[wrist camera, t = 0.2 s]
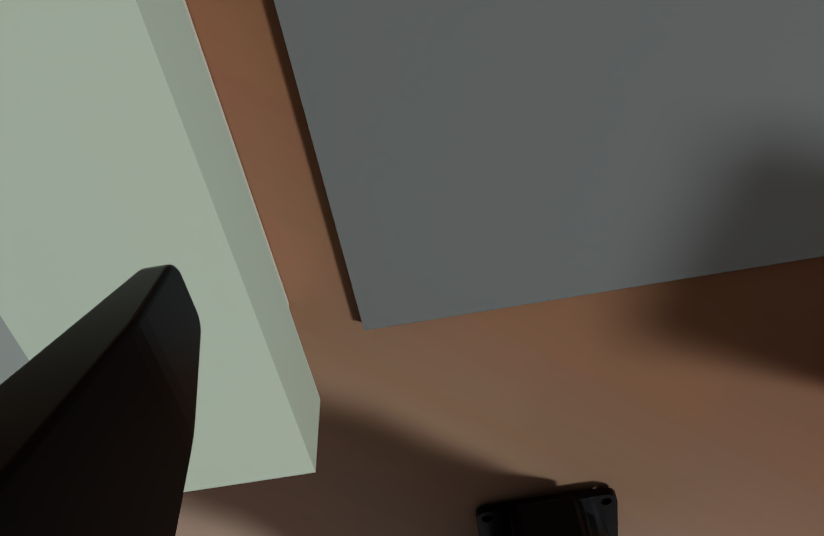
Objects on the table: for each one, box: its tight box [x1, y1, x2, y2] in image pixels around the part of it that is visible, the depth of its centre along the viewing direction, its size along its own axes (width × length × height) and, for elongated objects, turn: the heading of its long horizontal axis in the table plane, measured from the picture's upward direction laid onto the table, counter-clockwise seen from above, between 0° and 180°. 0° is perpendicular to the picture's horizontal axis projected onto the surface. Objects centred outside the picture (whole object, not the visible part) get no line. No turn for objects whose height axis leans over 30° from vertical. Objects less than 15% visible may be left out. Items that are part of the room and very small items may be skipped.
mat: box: [274, 0, 824, 330], centre depth 23 cm, size 18×18×1 cm
